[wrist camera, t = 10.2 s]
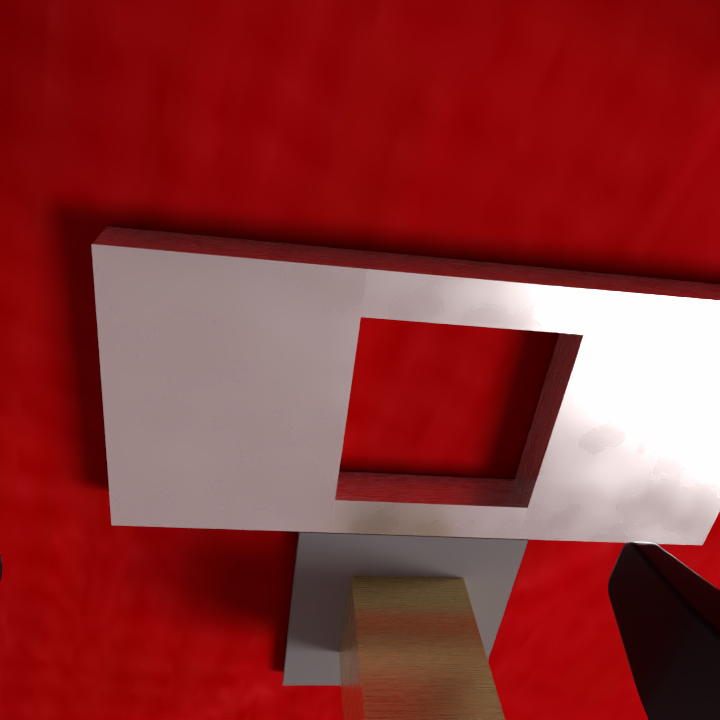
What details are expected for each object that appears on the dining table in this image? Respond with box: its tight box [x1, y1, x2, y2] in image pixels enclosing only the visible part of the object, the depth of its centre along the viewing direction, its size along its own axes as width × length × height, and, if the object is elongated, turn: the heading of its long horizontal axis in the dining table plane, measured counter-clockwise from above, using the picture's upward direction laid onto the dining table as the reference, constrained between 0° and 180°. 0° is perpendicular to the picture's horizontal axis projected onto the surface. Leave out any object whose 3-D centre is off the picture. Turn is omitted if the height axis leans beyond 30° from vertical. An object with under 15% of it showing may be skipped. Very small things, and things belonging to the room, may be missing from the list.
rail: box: [91, 226, 720, 545], centre depth 22 cm, size 22×10×2 cm, turn 83°
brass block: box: [339, 575, 505, 720], centre depth 24 cm, size 5×5×7 cm
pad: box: [283, 532, 528, 685], centre depth 27 cm, size 9×9×1 cm
